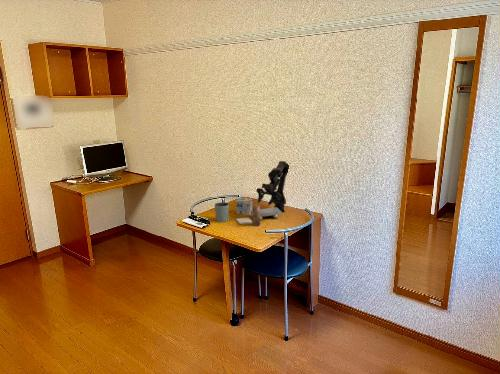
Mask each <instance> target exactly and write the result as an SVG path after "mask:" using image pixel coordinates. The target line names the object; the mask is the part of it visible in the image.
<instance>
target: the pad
mask: <svg viewBox="0 0 500 374" xmlns="http://www.w3.org/2000/svg"><path fill="white" fill-rule="evenodd" d="M235 219H236V221H237V223H238V224H239V225H244V224H251V223H252V224H253V220H252V219H251V218H250V217H247V216H246V217H241V218H235Z"/></svg>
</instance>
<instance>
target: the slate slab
mask: <svg viewBox="0 0 500 374" xmlns="http://www.w3.org/2000/svg"><path fill="white" fill-rule="evenodd" d="M282 213H283V212H282V211H280V210H279V209H278V208H277V207H276V208H274V207H268V208H260V222H262V221H263V217H268V216H272V217H273V218H274V219H275V220H278V219H279V215H282ZM250 215H252V210H251V214H250Z"/></svg>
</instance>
